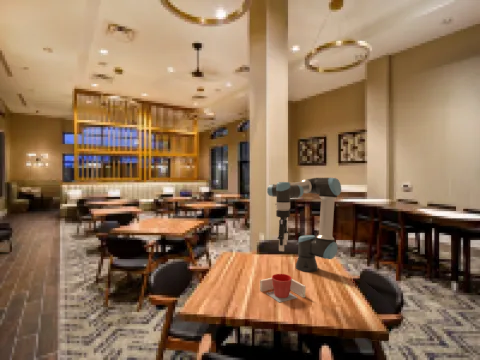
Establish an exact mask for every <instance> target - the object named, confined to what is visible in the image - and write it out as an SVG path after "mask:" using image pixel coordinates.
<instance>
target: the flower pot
mask: <svg viewBox="0 0 480 360" xmlns="http://www.w3.org/2000/svg"><path fill="white" fill-rule="evenodd" d="M271 278H272V282H273V289H272V290H273V291H274V294H275V296H276V297H279V298H287V297H288V296H289V293H291V292H290V291H291V290H290V287H291V281H292V279H293V278H292V276H291V275H289V274H286V273H276V274H273V275H272V276H271Z"/></svg>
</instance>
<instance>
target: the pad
mask: <svg viewBox="0 0 480 360" xmlns="http://www.w3.org/2000/svg"><path fill="white" fill-rule="evenodd" d="M265 294H266V295H268V296H269V297H270V298H271V299H273V300H275V301H276V302H277V303H283V302H287V301H291V300H295V299H298V296H296V295H294V294H293V293H291V292H290V293H289V296H288V297H287V298H279V297H276V296H275V294H274V290H273V291H269V292H266V293H265Z"/></svg>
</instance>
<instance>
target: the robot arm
mask: <svg viewBox="0 0 480 360" xmlns="http://www.w3.org/2000/svg"><path fill="white" fill-rule="evenodd" d="M266 191H267V196H270V197H276V203H275V206H276V211H275V212H276V218H280V219H279V220H278V222H279V225H278V227H279V228H278V237H277V240H278V251H279V252H285V246H287V245H288V234H289V231H288V218H290V217H291V210H290V209H291V199H299V198H301V197H303V195H304V194H315V195H318V198H320V212H319V213H320V214H319V226H318V227H319V228H318V235H317V236H316V235H313V234H306V235H300V236H299V237H298V247H297V248H298V253H297V254H298V256H297V260H296V263H295V269H297V270H299V271H300V272H301V271H302V272H308V273H312V272H317V271H318V269H319V267H318V263H317V260H316V257H318V258H322V259H325V260H326V259H327V260H332V259H334V258H335V257H336V255H337V253H338V247H339V246H338V242H335V238H334V237H333V230H334V228H333V227H334V213H335V212H334V211H335V201H336V199H337V198H338V196H339V195H340V194H341V192H342V184H341V182H340V180H339V179H338V178H336V177H313V178H307V179H303V180H301V181H297V182H289V181H278V182H276V184H275V183H274V184H269V185H268V186H267V190H266Z"/></svg>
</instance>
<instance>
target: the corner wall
mask: <svg viewBox="0 0 480 360" xmlns="http://www.w3.org/2000/svg"><path fill="white" fill-rule="evenodd" d="M271 290H274V289H273V282H272V277H269V278H263V279H260V280H259V291H260V292H267V291H271ZM290 291H291V292H293V293H295V295H298V296H300V297H301V298H306V285H305V284H302V283H301V282H299V281H297V280H296V279H293V278H292V281H291V287H290Z"/></svg>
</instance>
